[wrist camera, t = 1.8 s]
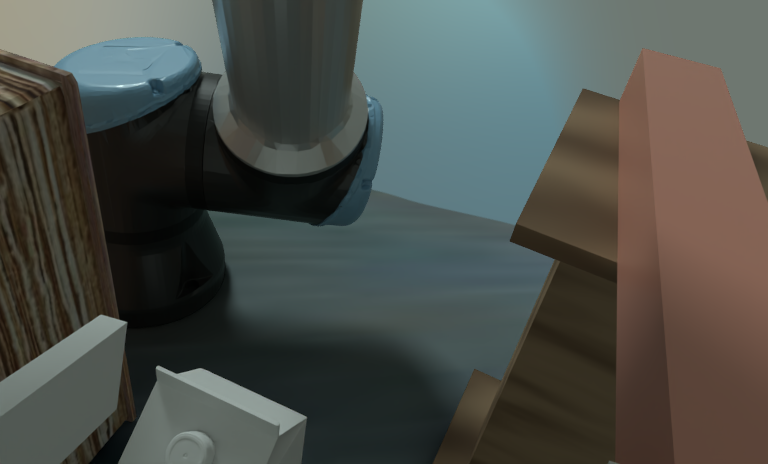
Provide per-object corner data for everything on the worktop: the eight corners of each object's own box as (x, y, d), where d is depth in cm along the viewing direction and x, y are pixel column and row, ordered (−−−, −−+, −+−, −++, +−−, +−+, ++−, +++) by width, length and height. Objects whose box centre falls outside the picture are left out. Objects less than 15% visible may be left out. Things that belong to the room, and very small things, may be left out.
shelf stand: (570, 633, 41) (842, 349, 23) (399, 540, 45) (516, 223, 26) (605, 440, 54) (798, 157, 36) (470, 378, 57) (583, 88, 39)
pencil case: (806, 664, 14) (910, 607, 12) (613, 588, 15) (679, 521, 13) (692, 121, 37) (720, 68, 35) (619, 101, 38) (642, 48, 36)
